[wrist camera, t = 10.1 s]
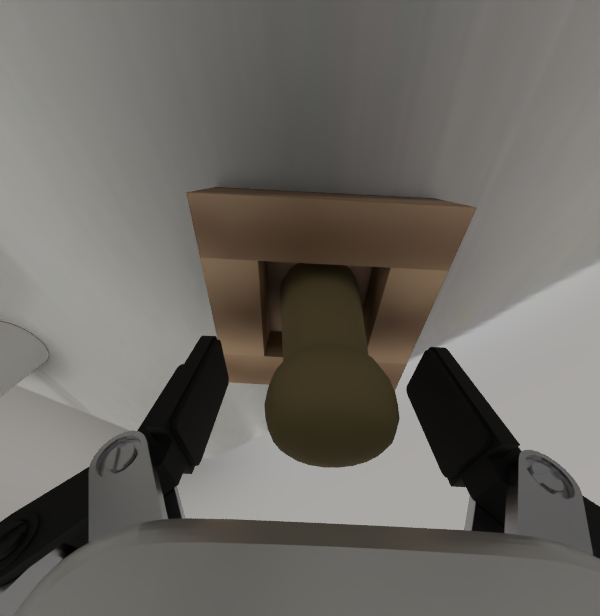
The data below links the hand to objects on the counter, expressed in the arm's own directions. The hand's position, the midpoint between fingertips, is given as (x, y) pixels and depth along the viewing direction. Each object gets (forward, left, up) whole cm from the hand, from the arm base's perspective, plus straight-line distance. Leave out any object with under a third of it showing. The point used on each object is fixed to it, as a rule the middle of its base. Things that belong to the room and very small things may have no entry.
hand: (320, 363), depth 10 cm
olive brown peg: (0, 0, -8) cm, 8 cm away
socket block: (+1, 0, -8) cm, 8 cm away
